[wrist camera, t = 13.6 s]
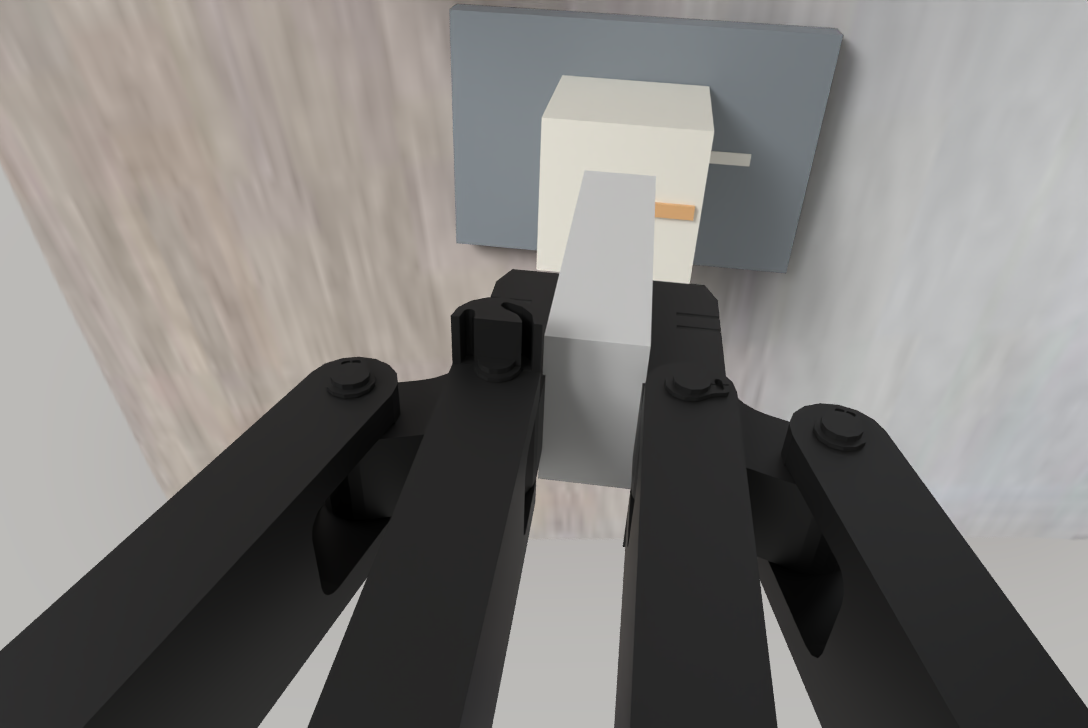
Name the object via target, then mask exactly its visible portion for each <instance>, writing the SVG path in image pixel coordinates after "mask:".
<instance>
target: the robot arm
mask: <svg viewBox="0 0 1088 728" xmlns="http://www.w3.org/2000/svg"><path fill="white" fill-rule="evenodd" d="M655 192H656V176H648V175H636V174H624V173H612V172H600V171H587V170H585V171H584V175H583V179H582V183H581V187H580V191H579V195H578V199H577V204H576V208H575V212H574V216H573V220H572V224H571V228H570V232H569V236H568V241H567V245H566V249H565V253H564V257H563V261H562V265H561V269H560V273H559V274H558V273H547V272H537V271H526V270H515V269H512V270H511V271H509V272H508V273H507V274H506V275H504V276H503V277H502V278H500V279H499V280H498V281H496V284H495V286H494V289H493V292H492V294H491V297H487V298H482V299H477V300H473V301H470V302H468V303H466V304H464V305H462V306H460V307H458V308H457V309H456V310H455V311H454V313H453V314H452V315H451V333H452V360H453V364H452V366H451V369H450V371H449V373H448V374H445V375H442V376H439V377H436V378H431V379H426V380H419V381H409V382H398V380H397V373H396V372H395V371H394V370H393V369H392V368H391V367H390V365H388V364H386V363H384V362H381V361H379V360H377V359H372V358H364V357H352V358H341V359H338V360H335V361H332V362H329V363H326V364H324V365H322V366H321V367H319V368H317V369H316V370H314V371H313V372H311V373H310V374H309V375H308V376H307V377H306V378H305V379H304V380H302V381H301V382H300V383H299V384H298V385H297V386H296V387H295V388H294V389H292V390H291V391H290V392H289V393H288V394H287V395H286V396H285V397H283V398H282V399H281V400H280V401H279V402H278V403H277V404H276V405H275V406H273V407H272V408H271V409H270V410H269V411H268V412H267V413H266V414H264V415H263V416H262V417H261V418H260V419H259V420H258V421H257V422H256V423H254V424H253V425H252V426H251V427H250V428H249V429H248V430H247V431H246V432H244V433H243V434H242V435H241V436H240V437H239V438H238V439H237V440H235V441H234V442H233V443H232V444H231V445H230V446H229V447H228V448H227V449H225V450H224V451H223V452H222V453H221V454H220V455H219V456H218V457H216V458H215V459H214V460H213V461H212V462H211V463H210V464H209V465H208V466H206V467H205V468H204V469H203V470H202V471H201V472H200V473H199V474H197V475H196V476H195V477H194V478H193V479H192V480H191V481H190V482H189V483H187V484H186V485H185V486H184V487H183V488H182V489H181V490H180V491H178V492H177V493H176V494H175V495H174V496H173V497H172V498H171V499H170V500H168V501H167V502H166V503H165V504H164V505H163V506H162V507H161V508H159V509H158V510H157V511H156V512H155V513H154V514H153V515H152V516H151V517H149V518H148V519H147V520H146V521H145V522H144V523H143V524H142V525H140V526H139V527H138V528H137V529H136V530H135V531H134V532H133V533H132V534H130V535H129V536H128V537H127V538H126V539H125V540H124V541H123V542H121V543H120V544H119V545H118V546H117V547H116V548H115V549H114V550H113V551H111V552H110V553H109V554H108V555H107V556H106V557H105V558H104V559H103V560H101V561H100V562H99V563H98V564H97V565H96V566H95V567H94V568H92V569H91V570H90V571H89V572H88V573H87V574H86V575H85V576H83V577H82V578H81V579H80V580H79V581H78V582H77V583H76V584H75V585H73V586H72V587H71V588H70V589H69V590H68V591H67V592H66V593H64V594H63V595H62V596H61V597H60V598H59V599H58V600H57V601H56V602H54V603H53V604H52V605H51V606H50V607H49V608H48V609H47V610H46V611H44V612H43V613H42V614H41V615H40V616H39V617H38V618H37V619H35V620H34V621H33V622H32V623H31V624H30V625H29V626H28V627H26V628H25V630H23V631H22V632H21V633H20V634H19V635H18V636H16V637H15V638H14V639H13V640H12V641H11V642H10V643H9V644H8V645H6V646H5V647H4V648H3V649H2V650H1V651H0V728H258V726H259V725H260V723H261V722H262V721H263V719H264V718H265V716H266V715H267V714H268V712H269V711H270V710H271V708H272V707H273V706H274V704H275V703H276V702H277V700H278V699H279V697H280V696H281V695H282V693H283V692H284V691H285V689H286V688H287V686H288V685H289V684H290V682H291V681H292V679H293V678H294V677H295V676H296V674H297V673H298V671H299V670H300V669H301V667H302V666H303V664H304V663H305V662H306V660H307V659H308V658H309V656H310V655H311V654H312V652H313V651H314V649H315V648H316V647H317V645H318V644H319V643H320V641H321V640H322V638H323V637H324V636H325V634H326V633H327V632H328V630H329V629H330V628H331V626H332V625H333V623H334V622H335V621H336V619H337V618H338V616H339V615H340V614H341V612H342V611H343V610H344V608H345V607H346V606H347V604H348V603H349V602H350V600H351V599H352V597H353V596H354V595H355V593H356V592H357V590H358V589H359V588H360V586H361V585H362V584H363V582H364V581H365V580H366V578H367V580H366V582H365V585H364V588H363V590H362V592H361V595H360V597H359V600H358V602H357V605H356V607H355V610H354V612H353V615H352V617H351V620H350V622H349V625H348V628H347V630H346V632H345V635H344V637H343V640H342V642H341V645H340V648H339V650H338V652H337V655H336V658H335V660H334V662H333V665H332V667H331V670H330V673H329V675H328V678H327V680H326V682H325V685H324V688H323V690H322V693H321V695H320V698H319V700H318V703H317V705H316V708H315V710H314V713H313V715H312V718H311V720H310V723H309V725H308V728H492V724H493V718H494V713H495V708H496V703H497V698H498V693H499V687H500V682H501V677H502V672H503V667H504V661H505V656H506V651H507V646H508V641H509V635H510V630H511V625H512V620H513V615H514V609H515V604H516V598H517V594H518V589H519V584H520V578H521V573H522V568H523V563H524V557H525V552H526V547H527V542H528V537H529V532H530V526H531V521H532V516H533V511H534V506H535V496H536V477H537V472H538V478H540V479H548V480H557V481H565V482H574V483H582V484H591V485H599V486H608V487H617V488H625V489H631V491H630V498H629V505H628V513H627V520H626V527H625V535H624V542H623V547H625V562H624V578H623V594H622V610H621V627H620V643H619V659H618V675H617V693H616V708H615V724H614V728H777V720H776V711H775V702H774V694H773V686H772V678H771V670H770V661H769V653H768V644H767V636H766V629H765V620H764V611H763V603H762V595H761V587H760V581H761V583H762V586H763V588H764V590H765V593H766V595H767V598H768V600H769V602H770V605H771V607H772V610H773V612H774V614H775V617H776V619H777V621H778V624H779V626H780V628H781V631H782V633H783V635H784V638H785V640H786V643H787V645H788V648H789V650H790V652H791V655H792V657H793V660H794V662H795V664H796V666H797V669H798V671H799V674H800V676H801V679H802V681H803V683H804V685H805V688H806V691H807V693H808V695H809V698H810V700H811V702H812V705H813V707H814V710H815V712H816V714H817V717H818V719H819V721H820V724H821V726H822V728H1088V708H1087V707H1086V705H1085V704H1084V703H1083V701H1082V700H1081V698H1080V697H1079V696H1078V694H1077V693H1076V692H1075V690H1074V689H1073V687H1072V686H1071V685H1070V683H1069V682H1068V681H1067V679H1066V678H1065V676H1064V675H1063V674H1062V672H1061V671H1060V670H1059V668H1058V667H1057V665H1056V664H1055V663H1054V661H1053V660H1052V659H1051V657H1050V656H1049V655H1048V653H1047V652H1046V650H1045V649H1044V648H1043V646H1042V645H1041V643H1040V642H1039V641H1038V639H1037V638H1036V637H1035V635H1034V634H1033V633H1032V631H1031V630H1030V628H1029V627H1028V626H1027V624H1026V623H1025V622H1024V620H1023V619H1022V617H1021V616H1020V615H1019V613H1018V612H1017V611H1016V609H1015V608H1014V606H1013V605H1012V604H1011V602H1010V601H1009V600H1008V598H1007V597H1006V596H1005V594H1004V593H1003V591H1002V590H1001V589H1000V587H999V586H998V585H997V583H996V582H995V580H994V579H993V578H992V577H991V575H990V574H989V572H988V571H987V569H986V568H985V567H984V565H983V564H982V563H981V561H980V560H979V558H978V557H977V556H976V554H975V553H974V552H973V550H972V549H971V548H970V546H969V545H968V543H967V542H966V541H965V539H964V538H963V536H962V535H961V534H960V532H959V531H958V530H957V528H956V527H955V525H954V524H953V523H952V521H951V520H950V519H949V517H948V516H947V515H946V513H945V512H944V510H943V509H942V508H941V506H940V505H939V504H938V502H937V501H936V499H935V498H934V497H933V495H932V494H931V493H930V491H929V490H928V488H927V487H926V486H925V484H924V483H923V482H922V480H921V479H920V477H919V476H918V475H917V473H916V472H915V471H914V469H913V468H912V466H911V465H910V464H909V462H908V461H907V460H906V458H905V457H904V456H903V454H902V453H901V451H900V450H899V449H898V447H897V446H896V445H895V443H894V442H893V440H892V439H891V438H890V436H889V435H888V434H887V432H886V431H885V430H884V429H883V428H882V427H881V426H880V425H879V424H878V423H877V422H876V421H875V420H873V419H872V418H870V417H868V416H866V415H864V414H863V413H861V412H859V411H857V410H854V409H851V408H847V407H844V406H840V405H833V404H821V403H820V404H814V405H809V406H804V407H802V408H801V409H799V410H798V411H796V412H795V413H793V416H792V418H791V420H790V422H788V421H785V420H782V419H779V418H776V417H773V416H769V415H767V414H764V413H762V412H759V411H757V410H754V409H753V408H751V407H749V406H747V405H746V404H744V403H743V402H742V401H740V400H739V399H738V396H737V391H736V389H735V387H734V384H733V382H732V381H731V380H729V379H728V378H727V377H726V373H725V364H724V355H723V346H722V336H721V333H720V331H721V327H720V320H719V309H718V300H717V299H716V298H715V297H714V296H713V295H712V293H711V292H710V291H709V290H708V289H707V288H706V286H705V285H697V284H686V283H675V282H665V281H654V280H653V255H654V224H655ZM538 467H539V470H538Z"/></svg>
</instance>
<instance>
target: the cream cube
mask: <svg viewBox="0 0 1088 728" xmlns="http://www.w3.org/2000/svg"><path fill="white" fill-rule="evenodd" d="M713 136H714V124H713V115H712V106H711V97H710V88H709V86H699V85H686V84H672V83H659V82H646V81H633V80H620V79H607V78H593V77H580V76H567V75H562V77H561V79H560V81H559V83H558V85H557V87H556V89H555V91H554V93H553V95H552V97H551V99H550V101H549V103H548V106H547V108H546V110H545V112H544V114H543V116H542V122H541V150H540V179H539V208H538V237H537V266H536V270H545V271H554V272H560V269H561V265H562V261H563V257H564V253H565V249H566V245H567V241H568V236H569V232H570V228H571V224H572V220H573V216H574V212H575V208H576V204H577V199H578V195H579V191H580V187H581V183H582V179H583V175H584V171H585V170H587V171H600V172H612V173H624V174H636V175H648V176H656V192H655V224H654V255H653V280H654V281H665V282H675V283H686V284H690V278H691V272H692V266H693V260H694V254H695V247H696V241H697V235H698V229H699V223H700V217H701V210H702V204H703V198H704V192H705V186H706V180H707V173H708V167H709V161H710V155H711V149H712V143H713Z"/></svg>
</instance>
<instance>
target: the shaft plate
mask: <svg viewBox="0 0 1088 728" xmlns="http://www.w3.org/2000/svg"><path fill="white" fill-rule="evenodd" d="M449 11H450V44H451V77H452V110H453V143H454V176H455V209H456V242H457V243H462V244H473V245H484V246H494V247H505V248H516V249H527V250H537V237H538V208H539V179H540V150H541V122H542V116H543V114H544V112H545V110H546V108H547V106H548V103H549V101H550V99H551V97H552V95H553V93H554V91H555V89H556V87H557V85H558V83H559V81H560V79H561V77H562V75H567V76H580V77H593V78H607V79H620V80H633V81H646V82H659V83H672V84H686V85H699V86H709V88H710V97H711V106H712V115H713V124H714V136H713V143H712V149H711V155H710V161H709V167H708V173H707V180H706V186H705V192H704V198H703V204H702V210H701V217H700V223H699V229H698V235H697V241H696V247H695V254H694V260H693V265H702V266H713V267H724V268H735V269H746V270H757V271H767V272H778V273H786V271H787V267H788V263H789V259H790V255H791V250H792V246H793V242H794V238H795V234H796V230H797V225H798V221H799V217H800V213H801V209H802V205H803V200H804V196H805V192H806V188H807V184H808V180H809V175H810V171H811V167H812V163H813V159H814V155H815V150H816V146H817V142H818V138H819V134H820V130H821V125H822V121H823V117H824V113H825V109H826V105H827V100H828V96H829V92H830V88H831V84H832V80H833V75H834V71H835V67H836V63H837V59H838V55H839V50H840V46H841V42H842V38H843V35H842V34H841V32H840V31H839V30H838V29H837V28H822V27H807V26H791V25H776V24H760V23H745V22H729V21H714V20H698V19H683V18H667V17H652V16H636V15H621V14H605V13H590V12H574V11H559V10H543V9H528V8H512V7H497V6H481V5H466V4H456V5H455V6H453V7H452V8H451V9H450V10H449Z"/></svg>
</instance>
